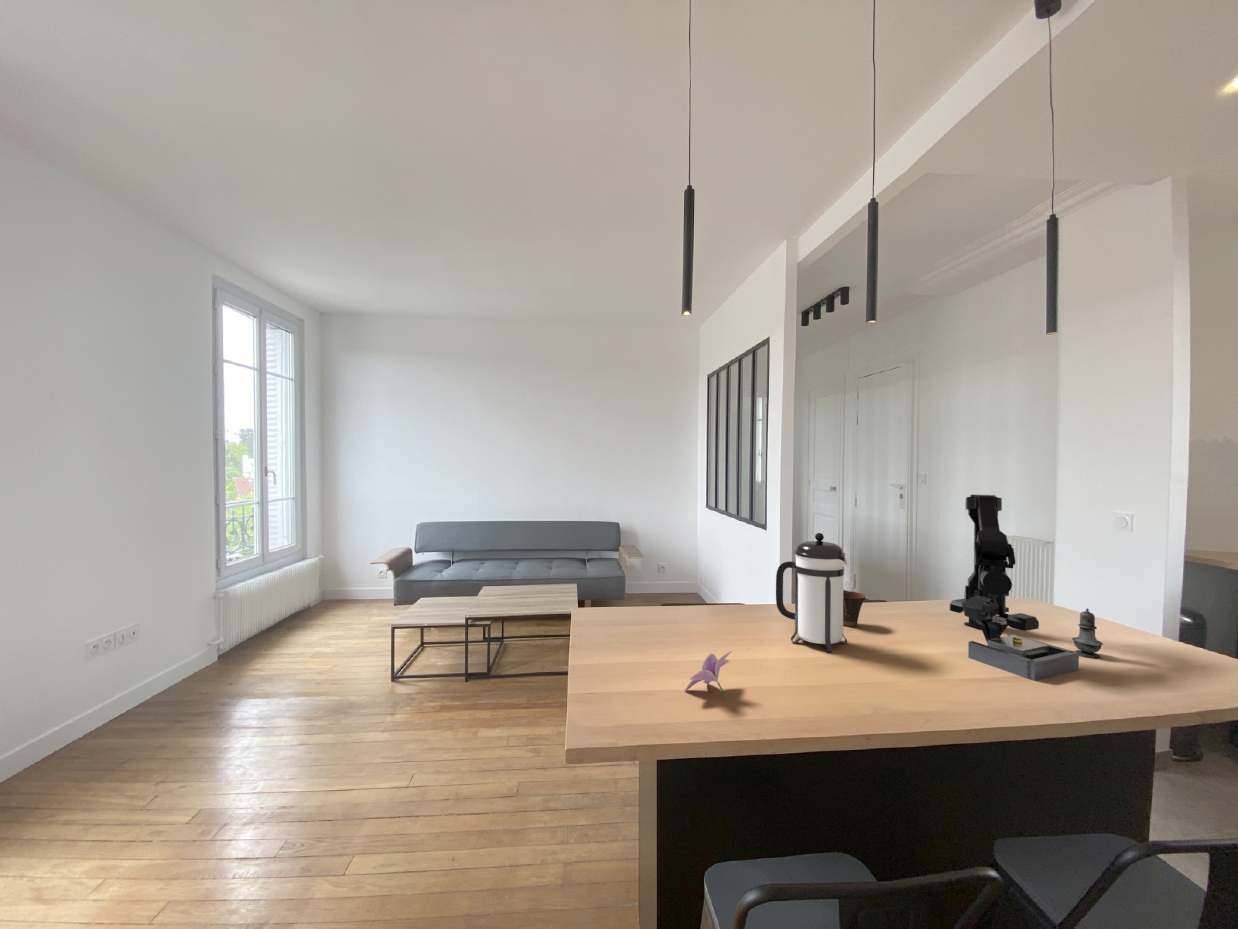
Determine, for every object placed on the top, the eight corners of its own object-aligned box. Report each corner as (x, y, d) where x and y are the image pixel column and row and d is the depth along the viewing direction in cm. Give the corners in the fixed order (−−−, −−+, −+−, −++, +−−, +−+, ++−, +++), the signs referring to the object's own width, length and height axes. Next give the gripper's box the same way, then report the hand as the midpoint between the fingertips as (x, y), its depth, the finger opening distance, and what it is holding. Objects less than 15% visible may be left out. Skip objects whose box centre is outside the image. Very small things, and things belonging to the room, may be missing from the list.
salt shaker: (1075, 656, 130) (1076, 609, 130) (1068, 649, 135) (1068, 604, 135) (1106, 661, 127) (1107, 612, 127) (1098, 653, 132) (1098, 607, 132)
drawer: (1012, 654, 132) (1013, 631, 132) (1051, 666, 124) (1052, 642, 124) (987, 659, 128) (987, 635, 128) (1025, 673, 120) (1026, 647, 120)
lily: (738, 688, 113) (719, 645, 116) (757, 689, 102) (736, 642, 105) (690, 711, 110) (672, 667, 113) (705, 714, 99) (684, 665, 102)
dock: (1011, 648, 135) (1011, 633, 135) (1078, 669, 121) (1078, 652, 121) (968, 657, 129) (968, 641, 129) (1034, 680, 115) (1034, 663, 115)
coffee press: (836, 633, 146) (837, 529, 146) (857, 654, 130) (858, 537, 130) (775, 631, 148) (775, 528, 148) (787, 651, 132) (788, 536, 132)
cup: (875, 627, 150) (869, 593, 150) (844, 631, 150) (839, 597, 150) (861, 619, 158) (856, 587, 159) (832, 623, 159) (828, 591, 159)
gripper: (935, 581, 137) (935, 639, 137) (1011, 598, 120) (1010, 664, 120) (963, 578, 141) (963, 634, 141) (1040, 594, 124) (1039, 658, 124)
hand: (991, 647), depth 132 cm, fingers closed
